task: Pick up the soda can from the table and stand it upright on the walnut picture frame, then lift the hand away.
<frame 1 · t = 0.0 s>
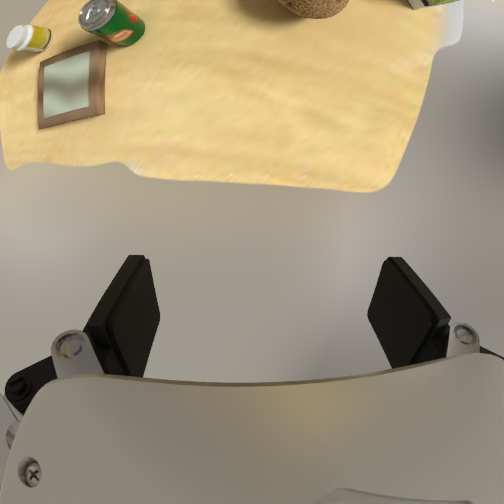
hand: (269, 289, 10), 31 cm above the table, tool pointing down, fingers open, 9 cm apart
walnut picture frame: (74, 85, 30), on the table
supplement bottle: (44, 41, 24), on the table
soda can: (131, 32, 27), on the table
natural sponge: (302, 4, 26), on the table
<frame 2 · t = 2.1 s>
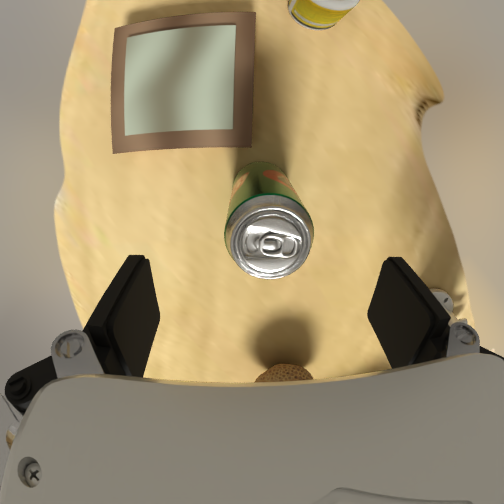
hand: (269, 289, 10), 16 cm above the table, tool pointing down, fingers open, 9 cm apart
walnut picture frame: (184, 81, 20), on the table
supplement bottle: (312, 11, 17), on the table
soda can: (260, 186, 25), on the table
natural sponge: (280, 364, 37), on the table
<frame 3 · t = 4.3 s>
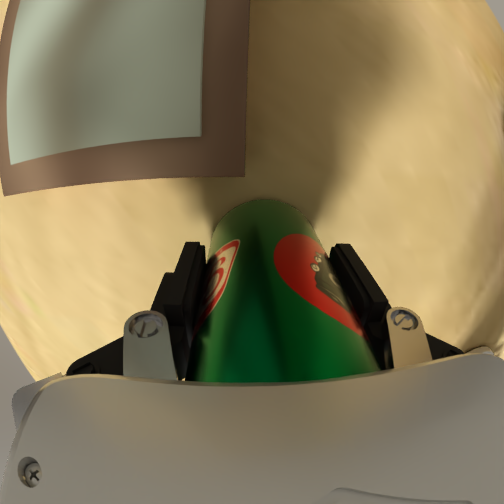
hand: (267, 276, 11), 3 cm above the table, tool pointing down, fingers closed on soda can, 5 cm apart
walnut picture frame: (116, 49, 9), on the table
soda can: (262, 242, 14), on the table, touching gripper
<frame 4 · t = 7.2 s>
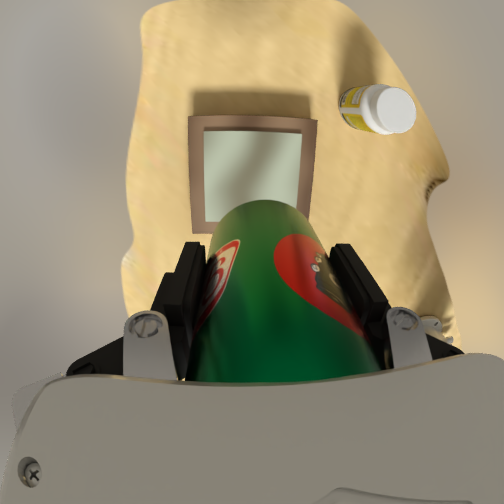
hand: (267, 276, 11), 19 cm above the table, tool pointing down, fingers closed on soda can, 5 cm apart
walnut picture frame: (250, 171, 28), on the table
supplement bottle: (357, 108, 25), on the table
soda can: (262, 242, 14), point 16 cm above the table, touching gripper
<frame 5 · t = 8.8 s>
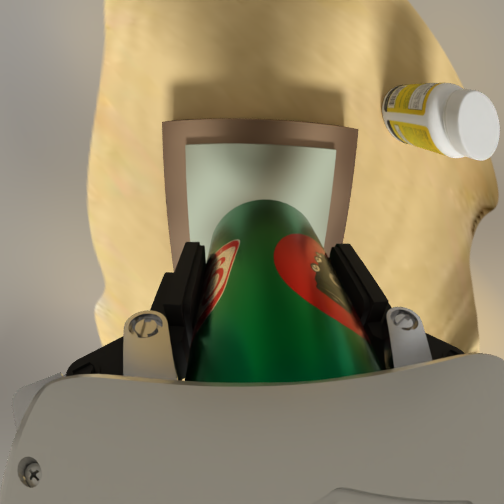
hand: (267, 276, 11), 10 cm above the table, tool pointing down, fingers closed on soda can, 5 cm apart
walnut picture frame: (257, 201, 20), on the table
supplement bottle: (404, 113, 17), on the table
soda can: (262, 242, 14), point 7 cm above the table, touching gripper
when the fingers open (7 cm above the table, at t = 10.2 s): soda can drops 1 cm, resting on walnut picture frame.
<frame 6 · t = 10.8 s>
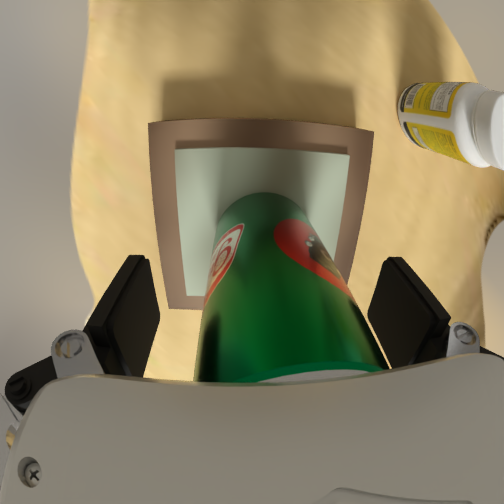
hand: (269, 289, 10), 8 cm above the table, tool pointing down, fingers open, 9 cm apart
walnut picture frame: (257, 211, 18), on the table
supplement bottle: (420, 114, 15), on the table
soda can: (262, 232, 15), point 3 cm above the table, touching walnut picture frame
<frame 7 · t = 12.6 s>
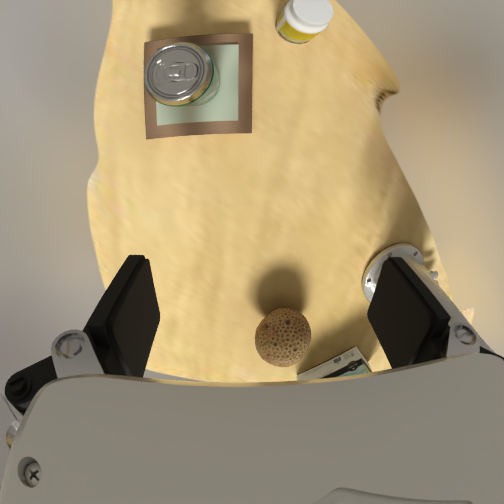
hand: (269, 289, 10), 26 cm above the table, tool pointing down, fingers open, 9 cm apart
walnut picture frame: (199, 85, 27), on the table
tea box: (332, 368, 56), on the table
supplement bottle: (294, 28, 24), on the table
soda can: (197, 84, 25), point 3 cm above the table, touching walnut picture frame
natural sponge: (278, 313, 46), on the table
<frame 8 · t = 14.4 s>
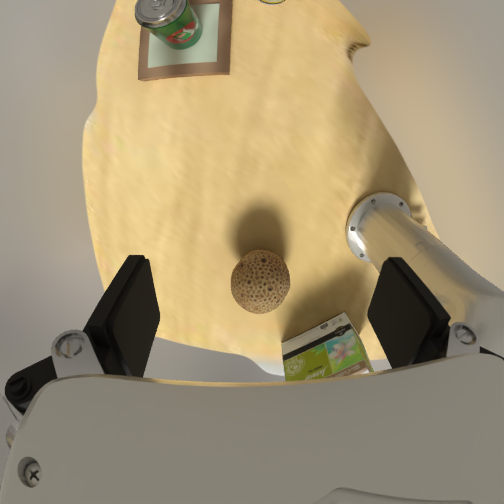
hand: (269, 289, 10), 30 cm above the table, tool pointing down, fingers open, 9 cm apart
walnut picture frame: (187, 38, 28), on the table
tea box: (320, 338, 55), on the table
soda can: (183, 34, 26), point 3 cm above the table, touching walnut picture frame
natural sponge: (258, 262, 45), on the table
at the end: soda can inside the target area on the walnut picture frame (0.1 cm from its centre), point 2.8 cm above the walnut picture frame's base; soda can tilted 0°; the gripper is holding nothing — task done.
